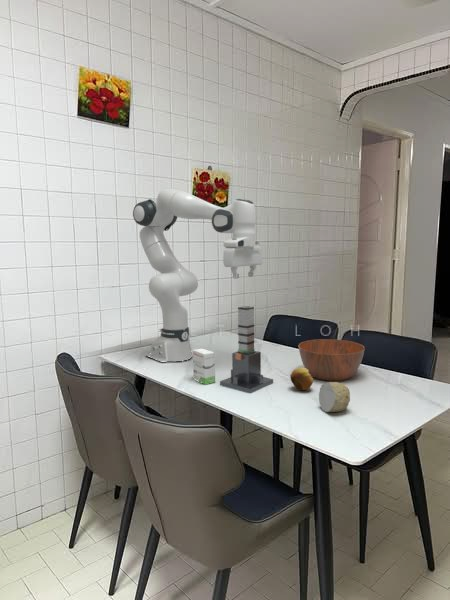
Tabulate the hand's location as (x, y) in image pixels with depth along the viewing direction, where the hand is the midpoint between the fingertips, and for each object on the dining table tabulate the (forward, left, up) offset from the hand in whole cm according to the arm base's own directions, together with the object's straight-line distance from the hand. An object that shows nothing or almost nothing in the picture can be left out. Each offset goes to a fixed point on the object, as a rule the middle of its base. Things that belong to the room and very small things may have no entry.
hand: (243, 277), depth 173 cm
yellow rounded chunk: (+47, -14, -38) cm, 62 cm away
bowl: (+29, +18, -38) cm, 51 cm away
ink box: (-5, -18, -38) cm, 43 cm away
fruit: (+29, -4, -38) cm, 48 cm away
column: (+10, -11, -27) cm, 31 cm away
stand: (+10, -11, -38) cm, 41 cm away
